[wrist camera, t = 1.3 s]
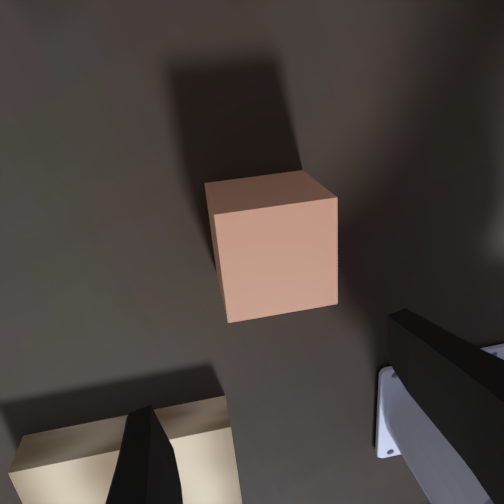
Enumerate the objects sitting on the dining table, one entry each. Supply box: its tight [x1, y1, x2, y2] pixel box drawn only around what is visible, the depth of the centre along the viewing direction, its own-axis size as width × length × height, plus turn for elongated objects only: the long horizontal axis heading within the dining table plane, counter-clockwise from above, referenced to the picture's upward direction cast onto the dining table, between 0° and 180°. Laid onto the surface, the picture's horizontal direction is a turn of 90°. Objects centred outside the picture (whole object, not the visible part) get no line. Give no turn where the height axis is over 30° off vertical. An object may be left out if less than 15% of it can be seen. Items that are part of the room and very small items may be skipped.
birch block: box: [8, 396, 242, 504], centre depth 27 cm, size 12×12×3 cm
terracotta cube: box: [204, 170, 338, 323], centre depth 20 cm, size 5×5×5 cm
